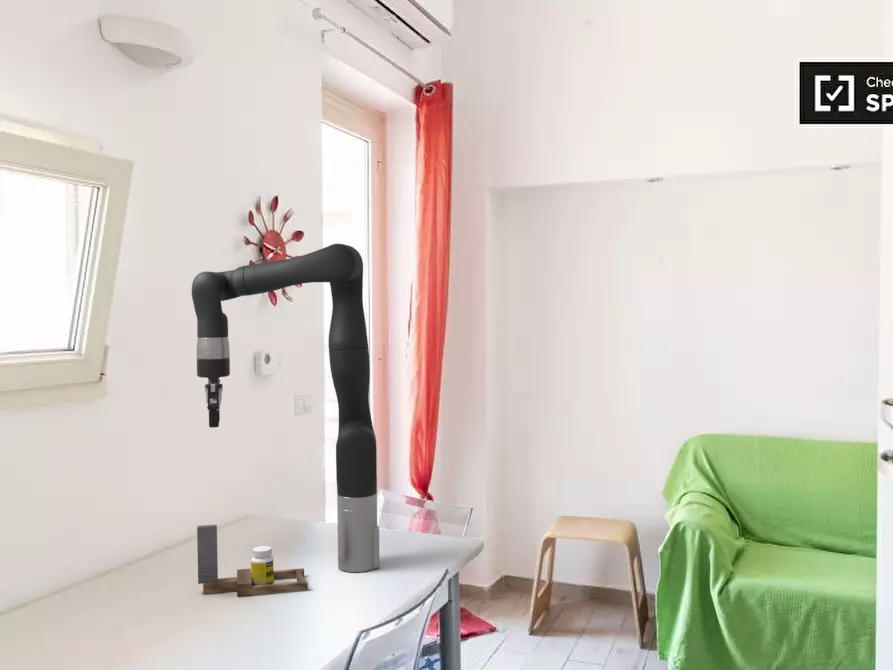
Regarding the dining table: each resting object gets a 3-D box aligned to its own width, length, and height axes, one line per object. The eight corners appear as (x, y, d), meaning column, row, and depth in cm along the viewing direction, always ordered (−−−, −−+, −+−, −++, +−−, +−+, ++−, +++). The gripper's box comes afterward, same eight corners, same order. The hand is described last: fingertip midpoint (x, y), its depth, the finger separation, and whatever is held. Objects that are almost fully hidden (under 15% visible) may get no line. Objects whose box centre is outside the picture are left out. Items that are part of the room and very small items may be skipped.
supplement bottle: (269, 591, 174) (268, 552, 174) (248, 590, 175) (247, 551, 174) (276, 583, 179) (276, 545, 178) (256, 582, 179) (255, 544, 179)
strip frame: (303, 574, 184) (302, 513, 183) (307, 589, 174) (306, 524, 173) (199, 584, 178) (198, 520, 177) (197, 600, 168) (196, 533, 168)
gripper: (229, 357, 186) (230, 428, 186) (229, 354, 199) (231, 420, 200) (195, 358, 184) (196, 429, 184) (198, 355, 198) (199, 421, 198)
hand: (214, 424), depth 192 cm, fingers open, 8 cm apart
